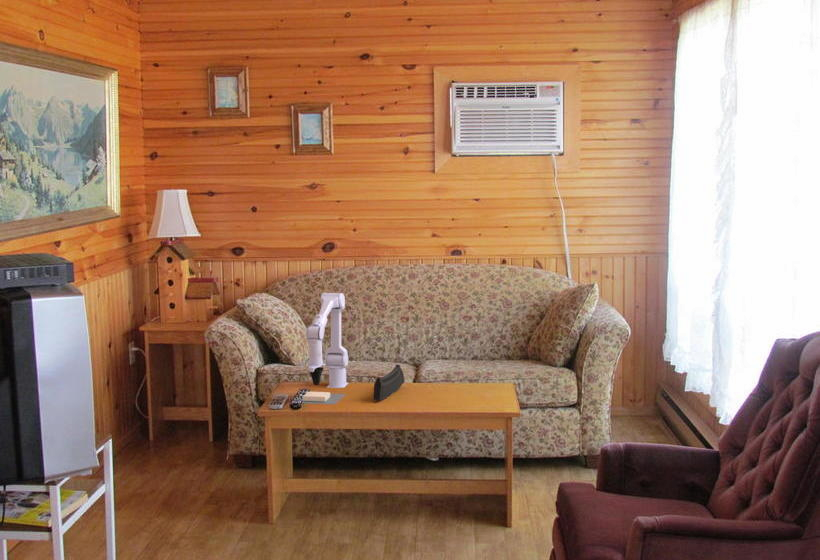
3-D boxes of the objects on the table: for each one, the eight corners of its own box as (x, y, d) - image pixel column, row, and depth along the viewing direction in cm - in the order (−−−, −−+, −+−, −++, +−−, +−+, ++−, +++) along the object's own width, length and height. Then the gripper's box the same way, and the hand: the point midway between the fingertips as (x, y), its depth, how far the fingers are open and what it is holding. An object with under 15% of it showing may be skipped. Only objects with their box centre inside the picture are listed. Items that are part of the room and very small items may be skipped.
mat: (302, 393, 410) (302, 392, 409) (345, 394, 406) (345, 394, 406) (289, 403, 392) (289, 402, 392) (334, 405, 388) (334, 404, 388)
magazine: (377, 384, 388) (400, 350, 413) (370, 383, 389) (394, 350, 414) (382, 418, 394) (405, 383, 420) (375, 418, 395) (398, 383, 421)
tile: (308, 391, 401) (302, 396, 393) (330, 392, 399) (325, 396, 391) (308, 396, 401) (302, 401, 394) (330, 397, 400) (325, 402, 392)
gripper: (319, 357, 387) (320, 389, 388) (329, 350, 401) (329, 381, 402) (303, 357, 388) (304, 388, 390) (313, 350, 402) (314, 380, 404)
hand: (316, 384), depth 396 cm, fingers closed
